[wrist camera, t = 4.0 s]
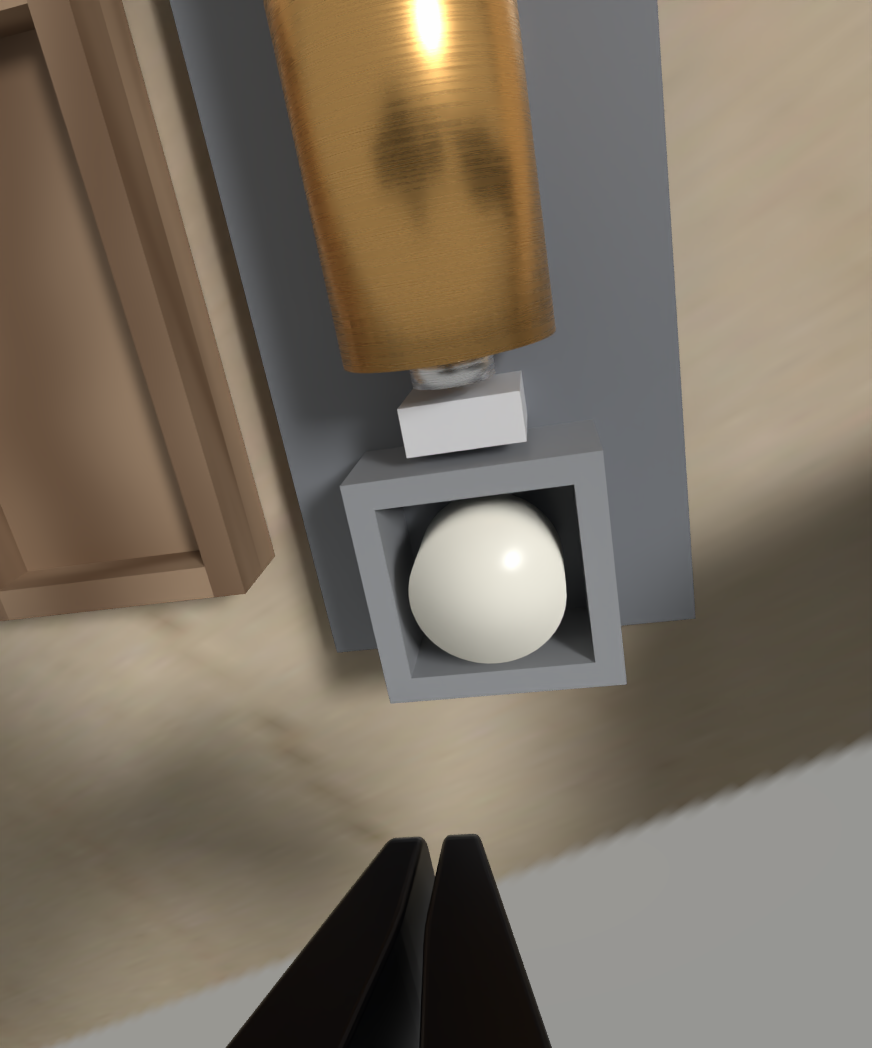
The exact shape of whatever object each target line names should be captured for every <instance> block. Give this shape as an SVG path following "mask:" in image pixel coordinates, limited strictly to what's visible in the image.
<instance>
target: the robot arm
mask: <svg viewBox="0 0 872 1048" xmlns="http://www.w3.org/2000/svg"><path fill="white" fill-rule="evenodd" d="M226 1048H552V1047H551V1044H550V1041H549V1038H548V1035H547V1032H546V1029H545V1026H544V1023H543V1021H542V1018H541V1015H540V1012H539V1009H538V1006H537V1003H536V1000H535V997H534V994H533V991H532V988H531V985H530V982H529V979H528V976H527V973H526V970H525V968H524V965H523V962H522V959H521V956H520V953H519V950H518V947H517V944H516V941H515V938H514V936H513V932H512V929H511V926H510V923H509V921H508V918H507V915H506V912H505V909H504V906H503V903H502V900H501V897H500V894H499V891H498V888H497V885H496V882H495V879H494V876H493V873H492V871H491V868H490V865H489V862H488V859H487V856H486V853H485V850H484V847H483V844H482V841H481V839H480V837H479V836H478V835H477V834H461V835H448V836H447V837H446V838H445V839H444V841H443V844H442V849H441V853H440V858H439V862H438V867H437V871H436V876H435V875H434V871H433V867H432V862H431V858H430V854H429V849H428V846H427V843H426V841H425V840H424V839H423V838H421V837H403V838H393V839H391V840H389V841H388V842H387V843H386V844H385V845H384V847H383V848H382V849H381V850H380V852H379V853H378V854H377V856H376V857H375V858H374V859H373V861H372V862H371V863H370V864H369V866H368V867H367V868H366V870H365V871H364V872H363V873H362V875H361V876H360V877H359V879H358V880H357V881H356V882H355V884H354V885H353V886H352V887H351V889H350V890H349V891H348V893H347V894H346V895H345V896H344V898H343V899H342V900H341V901H340V903H339V904H338V905H337V907H336V908H335V909H334V910H333V912H332V913H331V914H330V915H329V917H328V918H327V919H326V921H325V922H324V923H323V924H322V926H321V927H320V928H319V929H318V931H317V932H316V933H315V935H314V936H313V937H312V938H311V940H310V941H309V942H308V944H307V945H306V946H305V947H304V949H303V950H302V951H301V952H300V954H299V955H298V956H297V958H296V959H295V960H294V961H293V963H292V964H291V965H290V966H289V968H288V969H287V970H286V972H285V973H284V974H283V975H282V977H281V978H280V979H279V981H278V982H277V983H276V984H275V986H274V987H273V988H272V990H271V991H270V992H269V993H268V995H267V996H266V997H265V998H264V1000H263V1001H262V1002H261V1003H260V1005H259V1006H258V1007H257V1009H256V1010H255V1011H254V1013H253V1014H252V1015H251V1016H250V1017H249V1019H248V1020H247V1021H246V1023H245V1024H244V1025H243V1026H242V1028H241V1029H240V1030H239V1032H238V1033H237V1034H236V1035H235V1037H234V1038H233V1039H232V1040H231V1042H230V1043H229V1044H228V1046H227V1047H226Z"/></svg>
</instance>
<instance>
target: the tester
mask: <svg viewBox="0 0 872 1048" xmlns="http://www.w3.org/2000/svg"><path fill="white" fill-rule="evenodd" d="M170 4H171V8H172V12H173V16H174V20H175V24H176V28H177V31H178V35H179V39H180V43H181V47H182V51H183V55H184V59H185V63H186V66H187V70H188V74H189V78H190V82H191V86H192V90H193V94H194V98H195V101H196V105H197V109H198V113H199V117H200V121H201V125H202V129H203V133H204V136H205V140H206V144H207V148H208V152H209V156H210V160H211V164H212V168H213V171H214V175H215V179H216V183H217V187H218V191H219V195H220V199H221V203H222V206H223V210H224V214H225V218H226V222H227V226H228V230H229V234H230V238H231V241H232V245H233V249H234V253H235V257H236V261H237V265H238V269H239V273H240V276H241V280H242V284H243V288H244V292H245V296H246V300H247V304H248V308H249V312H250V315H251V319H252V323H253V327H254V331H255V335H256V339H257V343H258V347H259V350H260V354H261V358H262V362H263V366H264V370H265V374H266V378H267V382H268V385H269V389H270V393H271V397H272V401H273V405H274V409H275V413H276V417H277V420H278V424H279V428H280V432H281V436H282V440H283V444H284V448H285V452H286V455H287V459H288V463H289V467H290V471H291V475H292V479H293V483H294V487H295V490H296V494H297V498H298V502H299V506H300V510H301V514H302V518H303V522H304V525H305V529H306V533H307V537H308V541H309V545H310V549H311V553H312V557H313V560H314V564H315V568H316V572H317V576H318V580H319V584H320V588H321V592H322V595H323V599H324V603H325V607H326V611H327V615H328V619H329V623H330V627H331V630H332V634H333V638H334V642H335V646H336V650H337V652H348V651H358V650H369V649H378V652H379V656H380V660H381V665H382V669H383V673H384V677H385V682H386V686H387V690H388V694H389V699H390V703H403V702H415V701H428V700H440V699H452V698H465V697H477V696H489V695H502V694H514V693H526V692H539V691H551V690H564V689H576V688H588V687H601V686H613V685H625V684H627V681H626V671H625V661H624V651H623V642H622V632H621V626H622V625H633V624H643V623H654V622H664V621H675V620H686V619H695V603H694V587H693V571H692V555H691V538H690V522H689V506H688V490H687V474H686V458H685V442H684V425H683V409H682V393H681V377H680V361H679V345H678V328H677V312H676V296H675V280H674V264H673V248H672V232H671V215H670V199H669V183H668V167H667V151H666V135H665V118H664V102H663V86H662V70H661V54H660V38H659V21H658V5H657V0H517V5H518V13H519V22H520V30H521V39H522V47H523V56H524V64H525V73H526V81H527V90H528V98H529V107H530V115H531V124H532V132H533V141H534V149H535V157H536V166H537V174H538V183H539V191H540V200H541V208H542V217H543V225H544V234H545V242H546V251H547V259H548V268H549V276H550V285H551V293H552V301H553V310H554V318H555V327H556V332H555V333H554V334H553V335H551V336H549V337H548V338H545V339H543V340H541V341H538V342H535V343H533V344H529V345H526V346H523V347H520V348H516V349H513V350H509V351H505V352H501V353H498V354H493V358H494V365H495V372H496V373H495V375H493V376H492V377H490V378H487V379H485V380H482V381H479V382H475V383H471V384H467V385H463V386H458V387H452V388H445V389H437V390H416V389H414V388H413V386H412V380H411V375H410V370H403V371H394V372H382V373H352V372H347V371H345V370H344V367H343V363H342V358H341V353H340V349H339V344H338V340H337V335H336V331H335V326H334V322H333V317H332V313H331V308H330V303H329V299H328V294H327V290H326V285H325V281H324V276H323V272H322V267H321V262H320V258H319V253H318V249H317V244H316V240H315V235H314V231H313V226H312V222H311V217H310V212H309V208H308V203H307V199H306V194H305V190H304V185H303V181H302V176H301V171H300V167H299V162H298V158H297V153H296V149H295V144H294V140H293V135H292V131H291V126H290V121H289V117H288V112H287V108H286V103H285V99H284V94H283V90H282V85H281V80H280V76H279V71H278V67H277V62H276V58H275V53H274V49H273V44H272V39H271V35H270V30H269V26H268V21H267V17H266V12H265V8H264V3H263V0H170ZM497 494H510V495H513V496H516V497H519V498H521V499H523V500H526V501H528V502H529V503H531V504H532V505H534V506H535V507H537V508H538V509H539V510H540V511H542V512H543V513H544V515H545V516H546V517H547V518H548V519H549V520H550V522H551V523H552V524H553V526H554V528H555V530H556V531H557V533H558V536H559V539H560V541H561V546H562V551H563V560H564V571H565V581H566V594H567V598H566V607H565V611H564V615H563V617H562V620H561V622H560V624H559V626H558V628H557V629H556V631H555V632H554V634H553V635H552V636H551V638H550V639H549V640H548V641H547V642H546V643H545V644H544V645H542V646H541V647H540V648H538V649H537V650H536V651H534V652H532V653H530V654H529V655H527V656H524V657H522V658H519V659H517V660H513V661H509V662H503V663H491V664H487V663H477V662H472V661H467V660H464V659H461V658H458V657H456V656H454V655H451V654H449V653H448V652H446V651H444V650H443V649H441V648H440V647H438V646H437V645H436V644H434V643H433V642H432V641H431V640H430V639H429V638H428V637H427V636H426V635H425V633H424V632H423V631H422V630H421V628H420V627H419V625H418V623H417V622H416V620H415V617H414V615H413V613H412V610H411V606H410V601H409V579H410V575H411V571H412V568H413V565H414V562H415V559H416V557H417V554H418V551H419V548H420V545H421V543H422V540H423V537H424V534H425V532H426V530H427V528H428V526H429V524H430V523H431V521H432V520H433V518H434V517H435V516H436V515H437V514H438V513H439V512H440V511H441V510H442V509H443V508H444V507H445V506H447V505H448V504H450V503H451V502H453V501H455V500H459V499H466V498H474V497H482V496H490V495H497Z"/></svg>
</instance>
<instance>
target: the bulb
mask: <svg viewBox="0 0 872 1048" xmlns="http://www.w3.org/2000/svg"><path fill="white" fill-rule="evenodd" d="M566 598H567V594H566V581H565V571H564V560H563V551H562V546H561V541H560V539H559V536H558V533H557V531H556V530H555V528H554V526H553V524H552V523H551V522H550V520H549V519H548V518H547V517H546V516H545V515H544V513H543V512H542V511H540V510H539V509H538V508H537V507H535V506H534V505H532V504H531V503H529V502H528V501H526V500H523V499H521V498H519V497H516V496H513V495H510V494H497V495H490V496H482V497H474V498H466V499H459V500H455V501H453V502H451V503H450V504H448V505H447V506H445V507H444V508H443V509H442V510H441V511H440V512H439V513H438V514H437V515H436V516H435V517H434V518H433V520H432V521H431V523H430V524H429V526H428V528H427V530H426V532H425V534H424V537H423V540H422V543H421V545H420V548H419V551H418V554H417V557H416V559H415V562H414V565H413V568H412V571H411V575H410V579H409V601H410V606H411V610H412V613H413V615H414V617H415V620H416V622H417V623H418V625H419V627H420V628H421V630H422V631H423V632H424V633H425V635H426V636H427V637H428V638H429V639H430V640H431V641H432V642H433V643H434V644H436V645H437V646H438V647H440V648H441V649H443V650H444V651H446V652H448V653H449V654H451V655H454V656H456V657H458V658H461V659H464V660H467V661H472V662H477V663H487V664H491V663H503V662H509V661H513V660H517V659H519V658H522V657H524V656H527V655H529V654H530V653H532V652H534V651H536V650H537V649H538V648H540V647H541V646H542V645H544V644H545V643H546V642H547V641H548V640H549V639H550V638H551V636H552V635H553V634H554V632H555V631H556V629H557V628H558V626H559V624H560V622H561V620H562V617H563V615H564V611H565V607H566Z"/></svg>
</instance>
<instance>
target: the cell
mask: <svg viewBox="0 0 872 1048" xmlns="http://www.w3.org/2000/svg"><path fill="white" fill-rule="evenodd" d="M263 3H264V8H265V12H266V17H267V21H268V26H269V30H270V35H271V39H272V44H273V49H274V53H275V58H276V62H277V67H278V71H279V76H280V80H281V85H282V90H283V94H284V99H285V103H286V108H287V112H288V117H289V121H290V126H291V131H292V135H293V140H294V144H295V149H296V153H297V158H298V162H299V167H300V171H301V176H302V181H303V185H304V190H305V194H306V199H307V203H308V208H309V212H310V217H311V222H312V226H313V231H314V235H315V240H316V244H317V249H318V253H319V258H320V262H321V267H322V272H323V276H324V281H325V285H326V290H327V294H328V299H329V303H330V308H331V313H332V317H333V322H334V326H335V331H336V335H337V340H338V344H339V349H340V353H341V358H342V363H343V367H344V370H345V371H347V372H352V373H382V372H394V371H403V370H410V375H411V380H412V386H413V388H414V389H416V390H437V389H445V388H452V387H458V386H463V385H467V384H471V383H475V382H479V381H482V380H485V379H487V378H490V377H492V376H493V375H495V373H496V372H495V365H494V358H493V354H498V353H501V352H505V351H509V350H513V349H516V348H520V347H523V346H526V345H529V344H533V343H535V342H538V341H541V340H543V339H545V338H548V337H549V336H551V335H553V334H554V333H555V332H556V327H555V318H554V310H553V301H552V293H551V285H550V276H549V268H548V259H547V251H546V242H545V234H544V225H543V217H542V208H541V200H540V191H539V183H538V174H537V166H536V157H535V149H534V141H533V132H532V124H531V115H530V107H529V98H528V90H527V81H526V73H525V64H524V56H523V47H522V39H521V30H520V22H519V13H518V5H517V0H263Z"/></svg>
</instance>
